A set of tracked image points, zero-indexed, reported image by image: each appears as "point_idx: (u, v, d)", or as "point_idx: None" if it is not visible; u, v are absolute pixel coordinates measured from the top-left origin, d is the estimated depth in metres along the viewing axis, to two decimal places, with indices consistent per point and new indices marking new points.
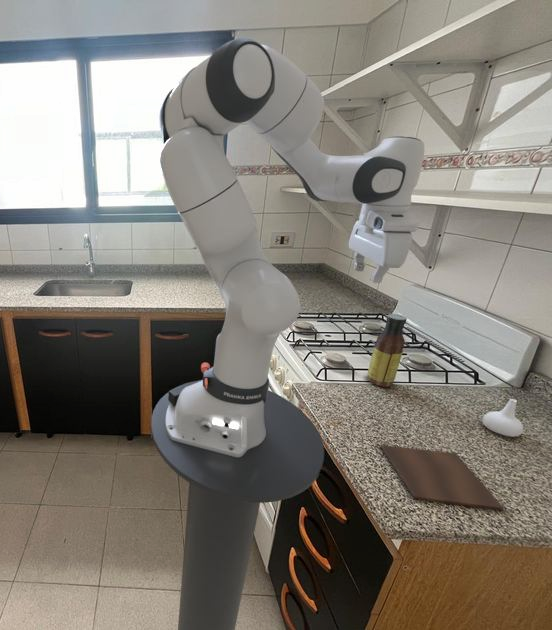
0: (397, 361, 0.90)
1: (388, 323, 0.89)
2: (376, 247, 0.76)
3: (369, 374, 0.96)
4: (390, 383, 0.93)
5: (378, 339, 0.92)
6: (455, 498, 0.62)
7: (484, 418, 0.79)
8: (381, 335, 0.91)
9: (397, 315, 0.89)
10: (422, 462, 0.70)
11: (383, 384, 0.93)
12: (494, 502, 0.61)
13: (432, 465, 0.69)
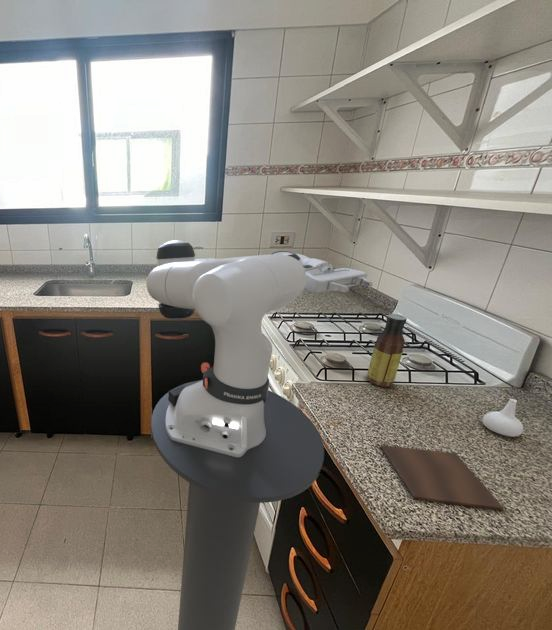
0: (397, 361, 0.90)
1: (388, 323, 0.89)
2: None
3: (369, 374, 0.96)
4: (390, 383, 0.93)
5: (378, 339, 0.92)
6: (455, 498, 0.62)
7: (484, 418, 0.79)
8: (381, 335, 0.91)
9: (397, 315, 0.89)
10: (422, 462, 0.70)
11: (383, 384, 0.93)
12: (494, 502, 0.61)
13: (432, 465, 0.69)
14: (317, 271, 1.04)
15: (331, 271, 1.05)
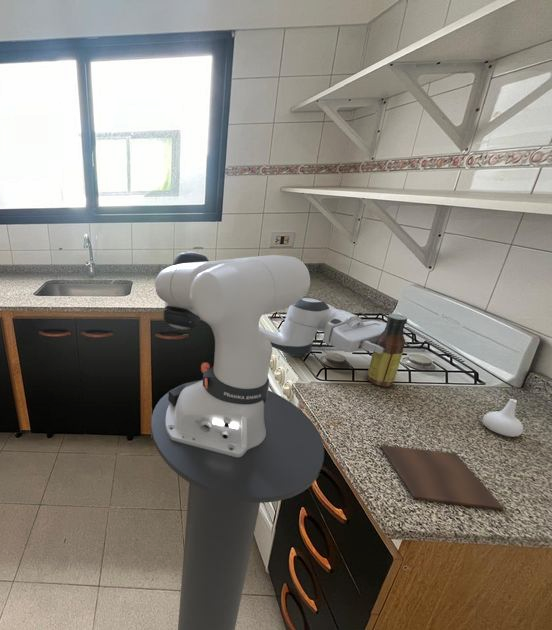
0: (397, 361, 0.90)
1: (389, 323, 0.89)
2: None
3: (369, 374, 0.96)
4: (390, 383, 0.93)
5: (378, 339, 0.92)
6: (455, 498, 0.62)
7: (484, 418, 0.79)
8: (382, 335, 0.91)
9: (398, 315, 0.89)
10: (422, 462, 0.70)
11: (383, 384, 0.93)
12: (494, 502, 0.61)
13: (432, 465, 0.69)
14: (346, 327, 0.98)
15: (361, 326, 0.99)
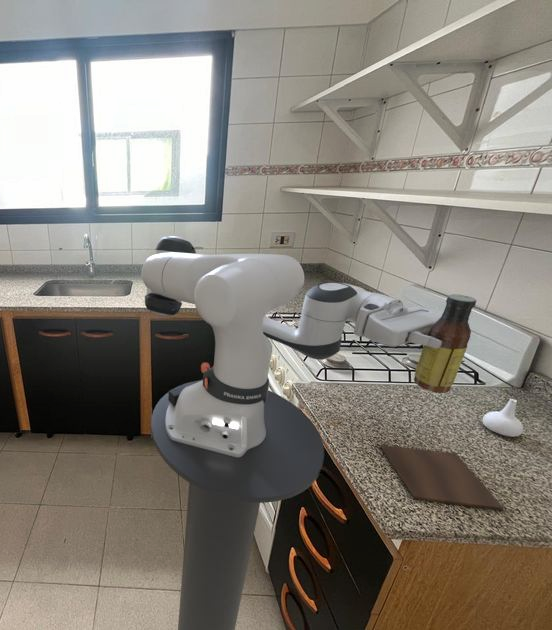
0: (460, 359, 0.67)
1: (449, 307, 0.65)
2: None
3: (418, 376, 0.72)
4: (448, 388, 0.69)
5: (433, 329, 0.68)
6: (455, 498, 0.62)
7: (484, 418, 0.79)
8: (438, 323, 0.67)
9: (461, 296, 0.65)
10: (422, 462, 0.70)
11: (438, 390, 0.69)
12: (494, 502, 0.61)
13: (432, 465, 0.69)
14: (386, 314, 0.74)
15: (404, 313, 0.76)
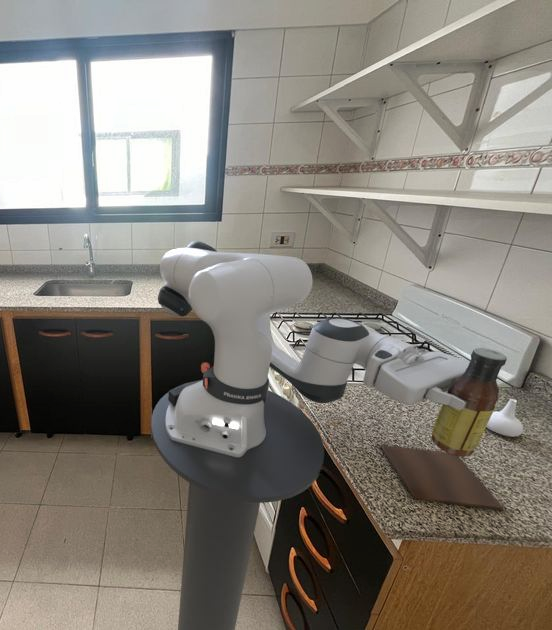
0: (486, 421, 0.58)
1: (475, 363, 0.57)
2: None
3: (436, 436, 0.64)
4: (471, 452, 0.61)
5: (455, 386, 0.60)
6: (455, 498, 0.62)
7: None
8: (461, 380, 0.59)
9: (489, 351, 0.57)
10: (422, 462, 0.70)
11: (460, 453, 0.61)
12: (494, 502, 0.61)
13: (432, 465, 0.69)
14: (400, 363, 0.66)
15: (420, 361, 0.67)
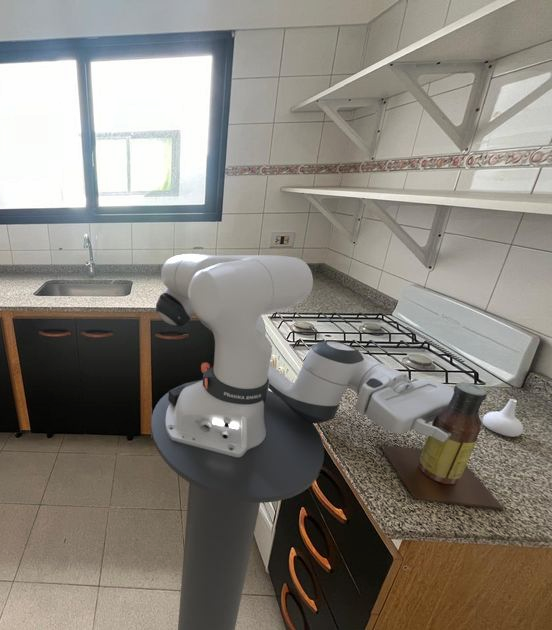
0: (469, 452, 0.61)
1: (457, 397, 0.60)
2: None
3: (423, 463, 0.66)
4: (456, 480, 0.64)
5: (440, 418, 0.63)
6: (455, 498, 0.62)
7: (484, 418, 0.79)
8: (445, 412, 0.62)
9: (471, 385, 0.60)
10: None
11: (446, 481, 0.64)
12: (494, 502, 0.61)
13: None
14: (390, 392, 0.68)
15: (410, 389, 0.70)
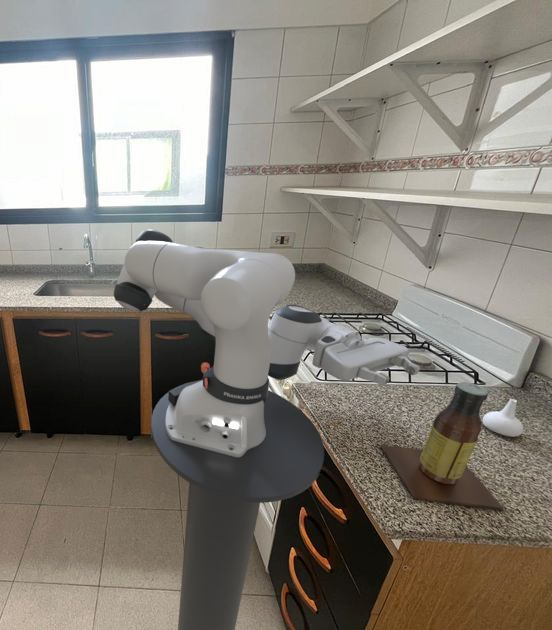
0: (470, 452, 0.61)
1: (458, 397, 0.60)
2: None
3: (424, 463, 0.66)
4: (456, 480, 0.64)
5: (440, 418, 0.63)
6: (455, 498, 0.62)
7: (484, 418, 0.79)
8: (445, 412, 0.62)
9: (472, 385, 0.60)
10: None
11: (446, 481, 0.64)
12: (494, 502, 0.61)
13: None
14: (342, 347, 0.77)
15: (360, 345, 0.78)
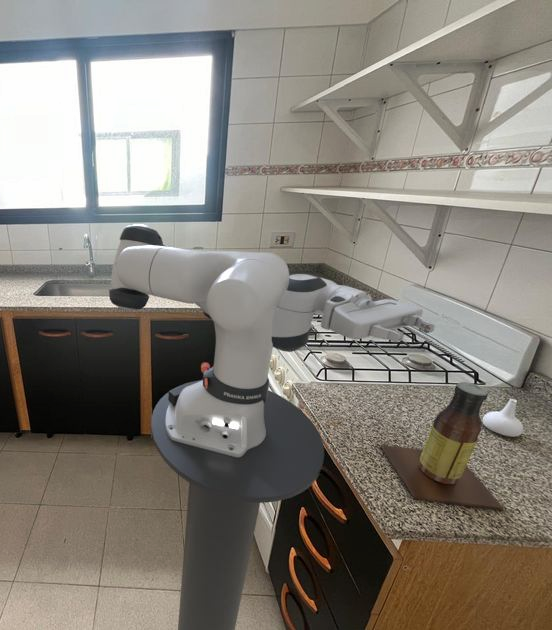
0: (470, 452, 0.61)
1: (458, 397, 0.60)
2: None
3: (424, 463, 0.66)
4: (456, 480, 0.64)
5: (440, 418, 0.63)
6: (455, 498, 0.62)
7: (484, 418, 0.79)
8: (445, 412, 0.62)
9: (471, 385, 0.60)
10: None
11: (446, 481, 0.64)
12: (494, 502, 0.61)
13: None
14: (352, 306, 0.73)
15: (371, 305, 0.75)
